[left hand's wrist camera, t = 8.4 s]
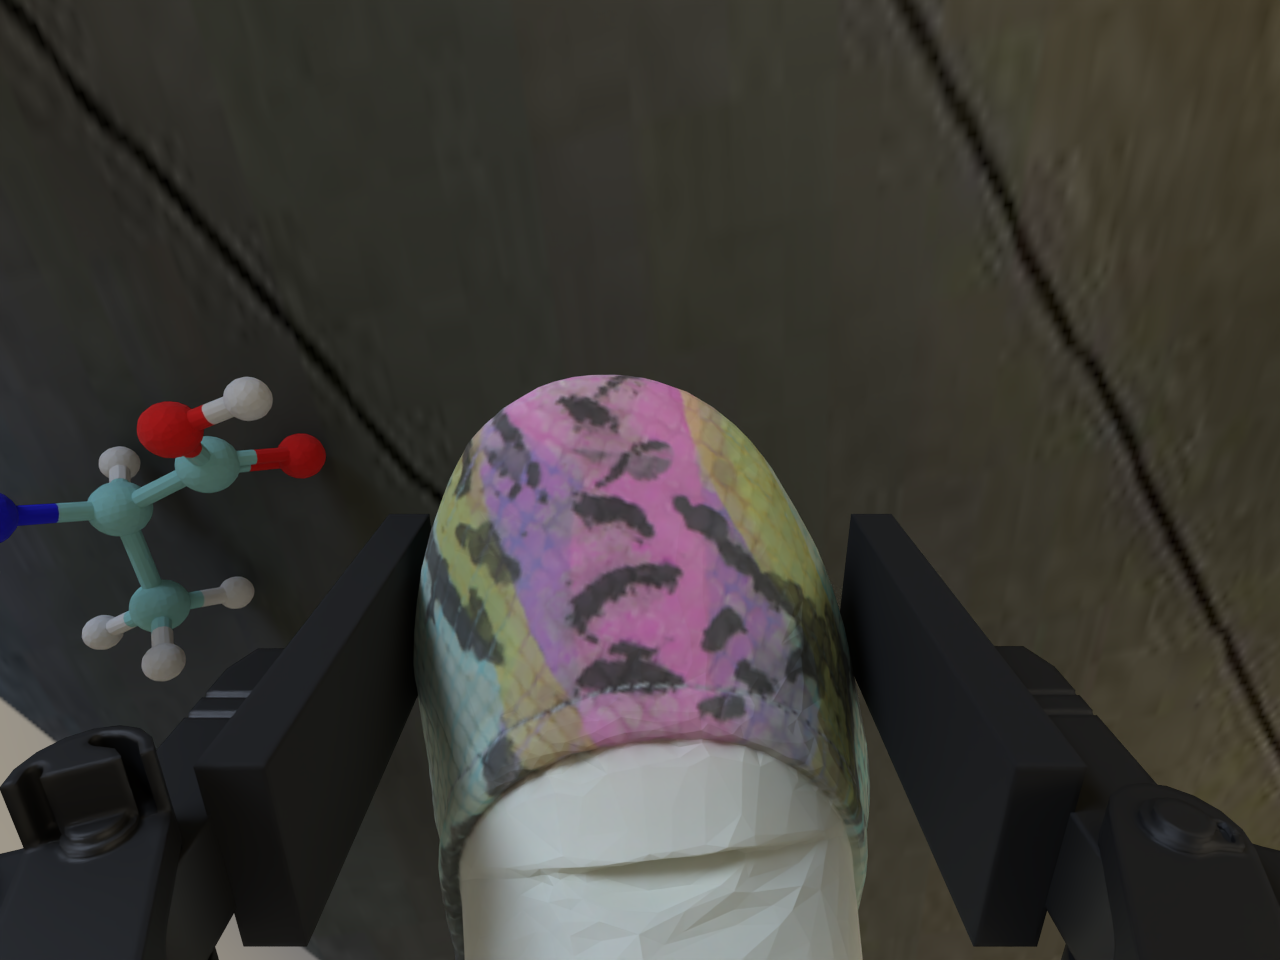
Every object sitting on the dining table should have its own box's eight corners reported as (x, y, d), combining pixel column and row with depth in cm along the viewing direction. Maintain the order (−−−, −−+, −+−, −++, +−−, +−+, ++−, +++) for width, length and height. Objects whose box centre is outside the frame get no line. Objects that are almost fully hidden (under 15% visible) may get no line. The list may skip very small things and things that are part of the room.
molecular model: (325, 720, 27) (-9, 813, 17) (168, 619, 30) (-172, 651, 21) (420, 418, 26) (124, 350, 17) (246, 353, 30) (-71, 270, 21)
